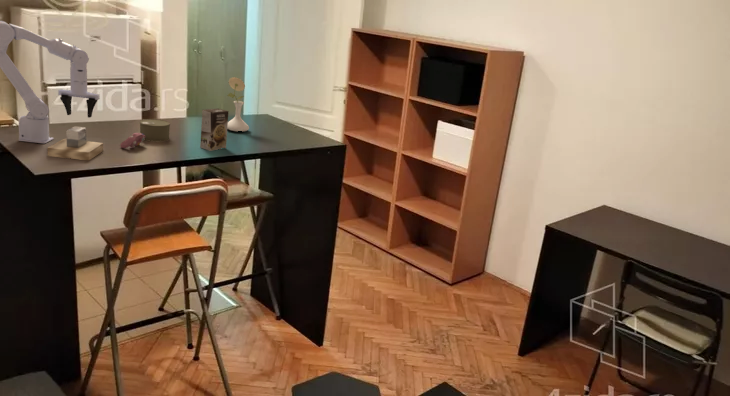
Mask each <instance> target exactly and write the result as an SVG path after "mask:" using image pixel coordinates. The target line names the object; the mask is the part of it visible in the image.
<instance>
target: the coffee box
mask: <svg viewBox="0 0 730 396" xmlns="http://www.w3.org/2000/svg"><path fill="white" fill-rule="evenodd" d="M228 122H229V110H226V109H221V108H207V109H202V112H201V126H200V127H201V129H200V142H199V143H200V146H199V148H201V149H203V150H206V151H209V152H212V151H218V149H219V150H222V149H221V148H225V149H226V148H227V140H228V129H227V126H228Z"/></svg>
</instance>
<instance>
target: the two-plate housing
mask: <svg viewBox="0 0 730 396" xmlns="http://www.w3.org/2000/svg"><path fill="white" fill-rule="evenodd" d="M65 133H66V139H67V147H73V148H79V147H81V146H83V145H85V144H86V141H87V127H84V126H77V125H74V126H72V127H70V128H68V129H66V132H65Z"/></svg>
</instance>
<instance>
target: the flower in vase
mask: <svg viewBox="0 0 730 396" xmlns="http://www.w3.org/2000/svg"><path fill="white" fill-rule="evenodd" d="M228 79H229V80H228V84H229V86H230V88H231V89H233V90H234V91H233V92H230V93H228V94H227V95H226V96H227V97H229V98H232V99H234V98H235V100H234V101H233V105H234V106H235V116H233V118H232V119H230V120H228V126H227V131H232V132H238V131H242V132H247V131H249V129H250V127H249V125H248V124H247V122H245V121H244V120H243V119H242V117H241V110H242V108H243V105H244V104H245V102H244V101H241V100H240V99H242V98H244V97H245V96H244V95H243V96H239V97H238V98H237V96H236V91H237V92H242V91H245V90H244V89H245V87H246V85H245V82H244V81H243V80H242V79H240V77H238V78H237V76H235V77H234V76H233V77H230V78H228Z"/></svg>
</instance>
